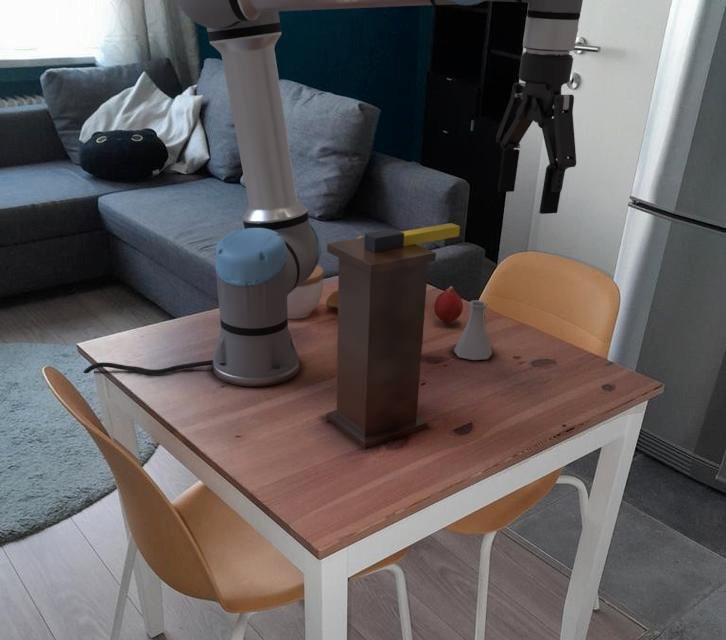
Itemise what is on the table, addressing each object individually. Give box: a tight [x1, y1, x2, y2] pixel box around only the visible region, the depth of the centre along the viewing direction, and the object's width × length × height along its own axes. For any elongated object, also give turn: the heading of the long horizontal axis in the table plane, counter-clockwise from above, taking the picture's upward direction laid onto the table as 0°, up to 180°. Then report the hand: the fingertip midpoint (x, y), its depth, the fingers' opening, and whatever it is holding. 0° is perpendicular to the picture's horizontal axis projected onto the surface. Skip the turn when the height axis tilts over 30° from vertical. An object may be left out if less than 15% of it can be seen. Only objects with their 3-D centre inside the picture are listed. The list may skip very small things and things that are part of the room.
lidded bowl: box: [287, 264, 325, 320], centre depth 163 cm, size 13×13×11 cm
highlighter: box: [364, 222, 461, 252], centre depth 114 cm, size 16×3×2 cm, turn 125°
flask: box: [453, 299, 493, 361], centre depth 149 cm, size 7×7×10 cm
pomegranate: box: [433, 286, 464, 325], centre depth 161 cm, size 6×6×8 cm
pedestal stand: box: [325, 237, 437, 449], centre depth 120 cm, size 12×11×28 cm
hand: (526, 201), depth 128 cm, fingers open, 13 cm apart
